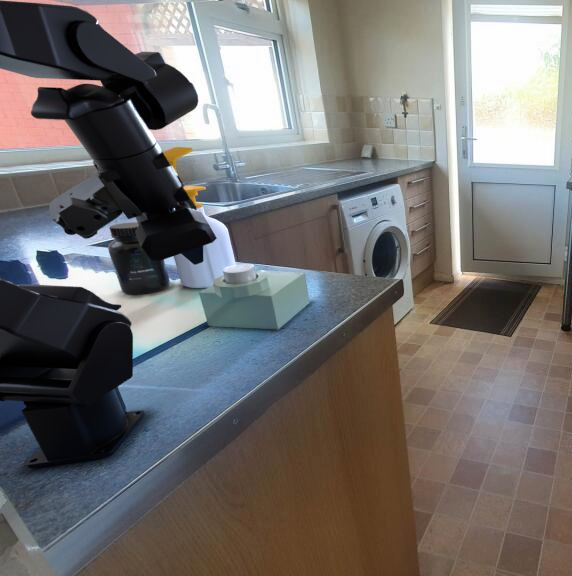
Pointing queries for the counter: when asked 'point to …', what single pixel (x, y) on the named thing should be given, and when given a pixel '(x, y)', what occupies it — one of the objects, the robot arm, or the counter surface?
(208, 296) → the push button box
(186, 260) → the soap bottle
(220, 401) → the counter surface
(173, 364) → the counter surface
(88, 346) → the robot arm
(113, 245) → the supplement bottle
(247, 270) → the flush button
